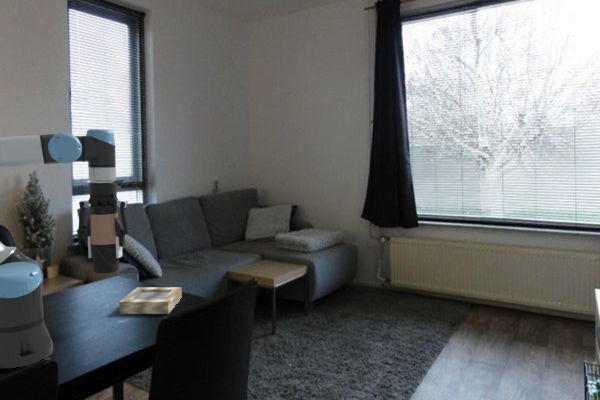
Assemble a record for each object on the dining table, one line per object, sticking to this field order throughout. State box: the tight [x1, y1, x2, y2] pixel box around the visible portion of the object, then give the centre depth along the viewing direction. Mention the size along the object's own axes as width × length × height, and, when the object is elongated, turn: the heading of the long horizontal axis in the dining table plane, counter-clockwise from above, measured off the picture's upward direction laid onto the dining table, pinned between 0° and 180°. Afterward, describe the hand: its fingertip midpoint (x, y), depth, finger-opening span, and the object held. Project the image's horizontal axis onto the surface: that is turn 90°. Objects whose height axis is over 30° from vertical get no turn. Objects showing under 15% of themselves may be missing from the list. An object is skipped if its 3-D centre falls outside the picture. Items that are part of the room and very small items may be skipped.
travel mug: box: [89, 204, 120, 274], centre depth 133 cm, size 8×8×20 cm
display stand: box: [118, 286, 183, 315], centre depth 152 cm, size 16×16×4 cm
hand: (105, 256), depth 134 cm, fingers closed on travel mug, 8 cm apart
